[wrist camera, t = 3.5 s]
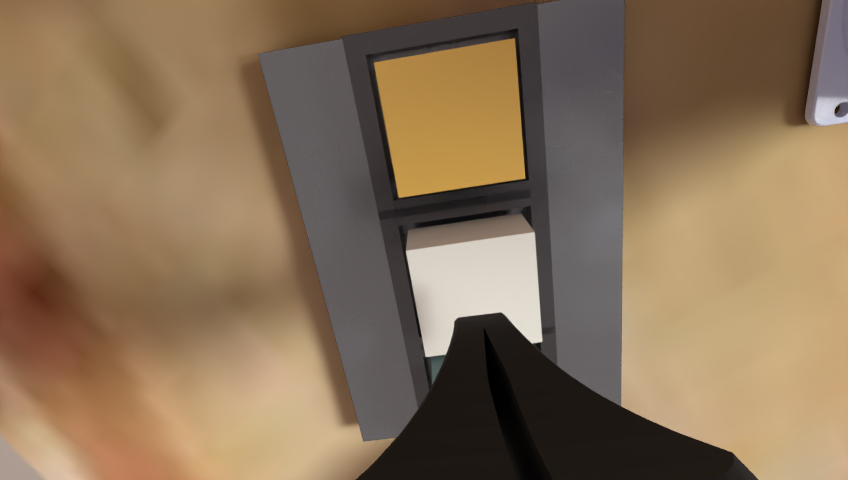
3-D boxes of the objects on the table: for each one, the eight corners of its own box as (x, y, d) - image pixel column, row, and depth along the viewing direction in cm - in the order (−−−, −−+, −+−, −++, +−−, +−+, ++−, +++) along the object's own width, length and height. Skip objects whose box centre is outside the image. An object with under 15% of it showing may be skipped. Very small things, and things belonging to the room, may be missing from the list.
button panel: (609, -4, 14) (646, -22, 12) (610, 392, 20) (635, 435, 18) (270, 55, 15) (240, 51, 13) (366, 422, 21) (359, 467, 18)
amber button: (502, 44, 14) (515, 38, 12) (512, 166, 15) (525, 178, 13) (381, 65, 14) (373, 62, 12) (402, 183, 15) (398, 197, 13)
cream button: (520, 212, 15) (534, 231, 13) (528, 311, 16) (542, 342, 14) (408, 229, 15) (405, 250, 13) (425, 325, 16) (425, 357, 14)
